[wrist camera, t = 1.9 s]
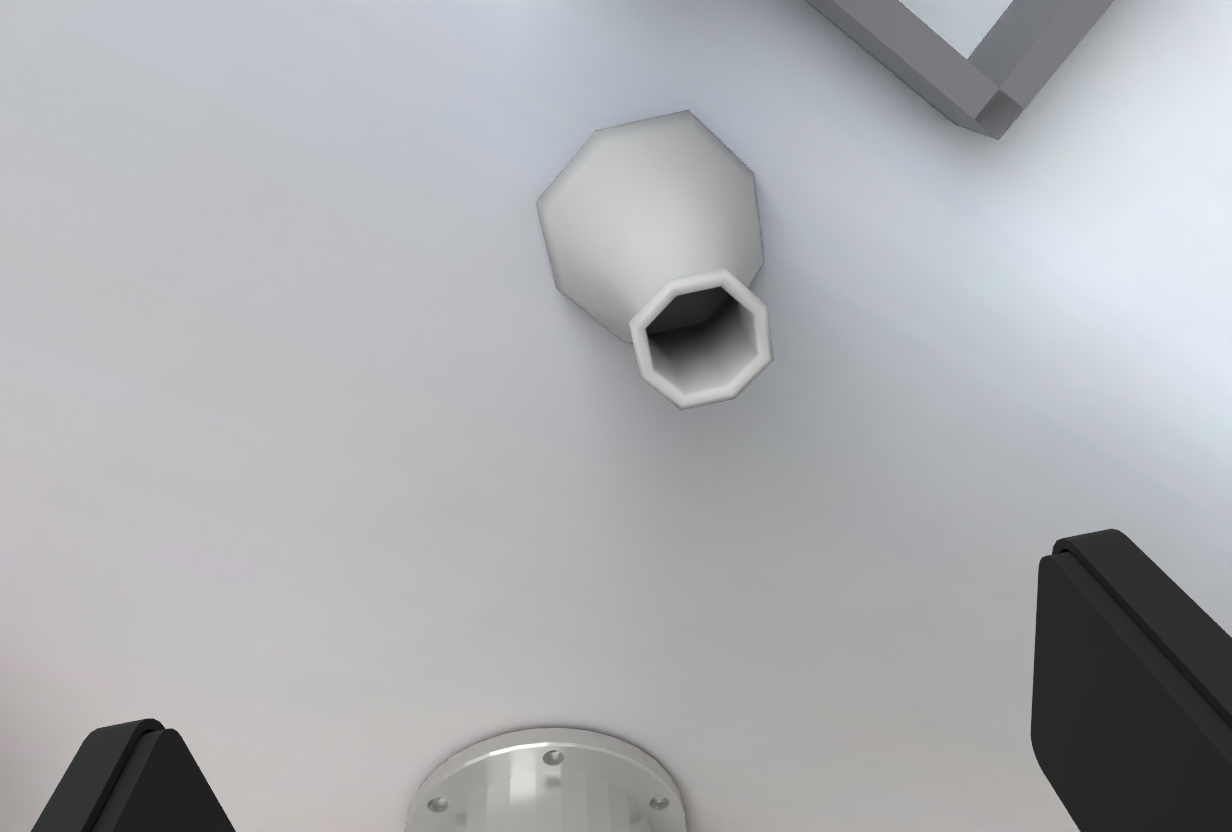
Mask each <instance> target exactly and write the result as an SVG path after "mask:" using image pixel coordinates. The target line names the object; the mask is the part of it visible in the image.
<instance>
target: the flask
mask: <svg viewBox="0 0 1232 832" xmlns="http://www.w3.org/2000/svg"><path fill="white" fill-rule="evenodd" d="M536 205H537V209H538V214H539V218H540V222H541V226H542V230H543V234H544V238H545V243H546V247H547V251H548V255H549V259H550V263H551V267H552V272H553V276H554V280H555V284H556V288H557V289H558V290H560V291H561V292H562V293H563V294H565V295H566V296H567V297H568V298H570V299H571V300H572V301H573V302H574V303H576V304H577V305H578V306H579V307H581V308H582V309H583V310H584V311H586V312H587V313H588V314H589V315H591V316H592V317H593V318H594V319H595V320H597V321H598V322H599V323H600V324H602V325H603V326H604V327H605V328H607V329H608V330H609V331H610V332H611V333H613V334H614V335H615V336H616V337H618V338H619V339H620V340H621V341H625V342H632V343H633V345H634V350H635V355H636V360H637V365H638V370H639V374H640V377H641V378H642V379H643V380H644V381H645V382H647V383H648V384H649V385H650V386H652V387H653V388H654V389H655V390H657V391H658V392H659V393H660V394H662V395H663V396H664V397H665V398H667V399H668V400H669V401H670V402H672V403H673V404H674V405H675V406H677V407H678V408H679V409H680V410H683V409H688V408H693V407H697V406H702V405H707V404H711V403H716V402H721V401H725V400H730V399H735V398H736V397H737V396H738V395H739V394H740V393H741V392H742V391H743V390H744V389H745V388H746V387H747V386H748V385H749V384H750V383H751V382H752V381H753V380H754V379H755V378H756V377H757V376H758V375H759V374H760V373H761V372H762V371H763V370H764V369H765V368H766V367H767V366H768V365H769V364H770V363H771V362H772V361H773V360H774V358H773V350H772V343H771V335H770V327H769V319H768V312H767V307H766V305H765V304H764V303H763V302H762V301H761V300H760V299H759V298H757V297H756V296H755V295H754V294H753V293H752V292H751V291H750V290H749V289H748V288H749V286H750V283H751V281H752V280H753V278H754V277H755V275H756V274H757V272H758V271H759V269H760V268H761V266H762V264H763V262H764V260H765V259H764V251H763V243H762V235H761V227H760V219H759V211H758V203H757V196H756V188H755V180H754V173H753V172H752V171H751V170H750V169H749V168H748V167H747V166H746V165H745V164H744V163H743V162H742V161H741V160H740V159H739V158H738V157H737V156H736V155H735V154H733V153H732V152H731V151H730V150H729V149H728V148H727V147H726V146H725V145H724V144H723V143H722V142H721V141H720V140H719V139H718V138H717V137H716V136H715V135H714V134H713V133H712V132H711V131H710V130H709V129H708V128H707V127H706V126H705V125H703V124H702V123H701V122H700V121H699V120H698V119H697V118H696V117H695V116H694V115H693V114H692V113H691V112H690V111H689V110H686V111H681V112H677V113H672V114H668V115H663V116H659V117H654V118H650V119H645V120H641V121H636V122H632V123H627V124H623V125H618V126H614V127H609V128H605V129H600V130H596V131H595V132H594V133H593V135H592V136H591V137H590V138H589V139H588V141H587V142H586V143H585V144H584V145H583V146H582V148H581V149H580V150H579V151H578V152H577V154H576V155H575V156H574V157H573V158H572V160H571V161H570V162H569V163H568V164H567V165H566V167H565V168H564V169H563V170H562V171H561V173H560V174H559V175H558V176H557V177H556V179H555V180H554V181H553V182H552V183H551V185H550V186H549V187H548V188H547V189H546V190H545V192H544V193H543V194H542V195H541V196H540V198H539V199H538V200H537V201H536Z"/></svg>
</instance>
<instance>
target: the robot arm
mask: <svg viewBox="0 0 1232 832" xmlns="http://www.w3.org/2000/svg"><path fill="white" fill-rule="evenodd" d="M1031 741H1032V746H1033V750H1034V753H1035V756H1036V758H1037V761H1038V763H1039V765H1040V767H1041V769H1042V771H1043V773H1044V774H1045V776H1046V777H1047V779H1048V781H1049V782H1050V784H1051V785H1052V787H1053V789H1054V790H1055V792H1056V793H1057V795H1058V797H1059V798H1060V800H1061V801H1062V803H1063V805H1064V806H1065V808H1066V809H1067V811H1068V813H1069V814H1070V816H1071V817H1072V819H1073V821H1074V822H1075V824H1076V825H1077V827H1078V829H1079V830H1080V832H1232V638H1231V637H1230V636H1229V635H1228V634H1227V633H1226V632H1225V631H1224V630H1223V629H1222V628H1221V627H1220V626H1219V625H1218V624H1217V623H1216V622H1215V621H1214V620H1213V619H1212V618H1211V617H1210V616H1209V615H1208V614H1206V613H1205V612H1204V611H1203V610H1202V609H1201V608H1200V607H1199V606H1198V605H1197V604H1196V603H1195V602H1194V601H1193V600H1192V599H1191V598H1190V597H1189V596H1188V595H1187V594H1186V593H1185V592H1184V591H1183V590H1182V589H1181V588H1180V587H1179V586H1178V585H1177V584H1176V583H1175V582H1173V581H1172V580H1171V579H1170V578H1169V577H1168V576H1167V575H1166V574H1165V573H1164V572H1163V571H1162V570H1161V569H1160V568H1159V567H1158V566H1157V565H1156V564H1155V563H1154V562H1153V561H1152V560H1151V559H1150V558H1149V557H1148V556H1147V555H1146V554H1145V553H1144V552H1143V551H1142V550H1140V549H1139V548H1138V547H1137V546H1136V545H1135V544H1134V543H1133V542H1132V541H1131V540H1130V539H1129V538H1128V537H1127V536H1126V535H1125V534H1123V533H1122V532H1120V531H1119V530H1115V529H1108V530H1103V531H1098V532H1093V533H1087V534H1082V535H1077V536H1072V537H1067V538H1062V539H1060V540H1057V541H1056V543H1055V545H1054V546H1053V552H1052V555H1049V556H1045V557H1042V559H1041V560H1040V563H1039V572H1038V593H1037V613H1036V634H1035V655H1034V676H1033V697H1032V718H1031ZM31 832H236V831H235V829H234V828H233V826H232V824H231V823H230V821H229V819H228V817H227V816H226V814H225V812H224V810H223V809H222V807H221V805H220V803H219V802H218V800H217V798H216V796H215V795H214V793H213V791H212V789H211V788H210V786H209V784H208V782H207V781H206V779H205V777H204V775H203V774H202V772H201V770H200V768H199V767H198V765H197V763H196V761H195V760H194V758H193V756H192V754H191V753H190V751H189V749H188V747H187V746H186V744H185V742H184V740H183V739H182V737H181V736H180V734H179V733H178V732H177V731H176V730H174V729H165V728H164V726H163V725H162V724H161V723H160V722H159V721H157V720H155V719H143V720H138V721H133V722H128V723H123V724H117V725H112V726H107V727H102V728H98V729H96V730H94V731H93V732H91V733H90V734H89V735H88V736H87V738H86V739H85V740H84V741H83V743H82V745H81V747H80V748H79V750H78V752H77V753H76V755H75V757H74V759H73V760H72V762H71V764H70V766H69V767H68V769H67V771H66V772H65V774H64V776H63V778H62V779H61V781H60V783H59V784H58V786H57V788H56V790H55V791H54V793H53V795H52V796H51V798H50V800H49V802H48V803H47V805H46V807H45V808H44V810H43V812H42V814H41V815H40V817H39V819H38V820H37V822H36V824H35V826H34V827H33V829H32V831H31ZM405 832H687V827H686V817H685V811H684V807H683V803H682V799H681V795H680V792H679V790H678V788H677V787H676V785H675V783H674V781H673V780H672V778H671V776H670V775H669V774H668V773H667V772H666V771H665V770H664V769H663V767H662V766H661V765H660V764H659V763H658V762H657V761H656V760H655V759H653V758H652V757H650V756H649V755H647V754H646V753H644V752H643V751H641V750H640V749H639V748H637V747H635V746H633V745H630V744H628V743H626V742H624V741H621V740H619V739H617V738H615V737H611V736H607V735H604V734H600V733H596V732H592V731H588V730H578V729H569V728H536V729H528V730H522V731H517V732H511V733H505V734H502V735H499V736H496V737H493V738H490V739H487V740H484V741H481V742H478V743H476V744H474V745H472V746H470V747H468V748H466V749H464V750H462V751H461V752H459V753H457V754H455V755H453V756H452V757H451V758H449V759H448V760H447V761H446V762H444V763H443V764H442V765H440V766H439V767H438V768H436V769H435V770H434V771H433V772H432V773H431V775H430V776H429V777H428V778H427V779H426V780H425V781H424V782H423V784H422V785H421V786H420V788H419V789H418V791H417V793H416V795H415V797H414V799H413V800H412V802H411V804H410V808H409V812H408V816H407V820H406V825H405Z"/></svg>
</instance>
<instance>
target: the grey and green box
mask: <svg viewBox="0 0 1232 832" xmlns="http://www.w3.org/2000/svg"><path fill="white" fill-rule="evenodd" d="M806 1H807V2H808V3H809V4H810V5H812V6H813V7H814V8H815V9H816V10H818V11H819V12H820V13H821V14H823V15H824V16H825V17H826V18H827V19H829V20H830V21H831V22H832V23H833V24H835V25H836V26H837V27H838V28H839V29H841V30H842V31H843V32H844V33H845V34H847V35H848V36H849V37H850V38H851V39H853V40H854V41H855V42H856V43H857V44H859V45H860V46H861V47H862V48H863V49H865V50H866V51H867V52H868V53H870V54H871V55H872V56H873V57H874V58H876V59H877V60H878V61H879V62H880V63H882V64H883V65H884V66H885V67H886V68H888V69H889V70H890V71H891V72H892V73H894V74H895V75H896V76H897V77H898V78H900V79H901V80H902V81H903V82H904V83H906V84H907V85H908V86H909V87H910V88H912V89H913V90H914V91H915V92H917V93H918V94H919V95H920V96H921V97H923V98H924V99H925V100H926V101H927V102H929V103H930V104H931V105H932V106H933V107H935V108H936V109H937V110H938V111H939V112H941V113H942V114H943V115H944V116H945V117H947V118H948V119H949V120H950V121H951V122H953V123H954V124H956V125H959V126H961V127H964V128H967V129H970V130H972V131H975V132H978V133H981V134H983V135H986V136H989V137H992V138H994V139H997V140H999V139H1000V138H1001V136H1002V135H1003V134H1004V133H1005V132H1006V130H1007V129H1008V128H1009V127H1010V126H1011V124H1012V123H1013V122H1014V121H1015V119H1016V118H1017V117H1018V116H1019V115H1020V113H1021V112H1022V111H1023V110H1024V109H1025V107H1026V106H1027V105H1028V104H1029V103H1030V101H1031V100H1032V99H1033V98H1034V96H1035V95H1036V94H1037V93H1038V92H1039V90H1040V89H1041V88H1042V87H1043V86H1044V84H1045V83H1046V82H1047V81H1048V79H1049V78H1050V77H1051V76H1052V75H1053V73H1054V72H1055V71H1056V70H1057V69H1058V67H1059V66H1060V65H1061V64H1062V62H1063V61H1064V60H1065V59H1066V58H1067V56H1068V55H1069V54H1070V53H1071V52H1072V50H1073V49H1074V48H1075V47H1076V46H1077V44H1078V43H1079V42H1080V41H1081V39H1082V38H1083V37H1084V36H1085V35H1086V33H1087V32H1088V31H1089V30H1090V29H1091V27H1092V26H1093V25H1094V24H1095V22H1096V21H1097V20H1098V19H1099V18H1100V16H1101V15H1102V14H1103V13H1104V12H1105V10H1106V9H1107V8H1108V7H1109V6H1110V4H1111V3H1112V2H1113V1H1114V0H1014V1H1013V2H1012V3H1011V5H1010V6H1009V7H1008V9H1007V10H1006V11H1005V12H1004V14H1003V15H1002V16H1001V17H1000V19H999V20H998V21H997V23H996V24H995V25H994V26H993V28H992V29H991V30H990V32H989V33H988V34H987V35H986V37H985V38H984V39H983V40H982V42H981V43H980V44H979V46H978V47H977V48H976V49H975V51H974V52H973V53H972V54H971V56H970V57H969V58H968V60H966V59H965V58H964V57H963V56H962V55H960V54H959V53H958V52H957V51H956V50H955V49H954V48H952V47H951V46H950V45H949V44H948V43H947V42H945V41H944V40H943V39H942V38H941V37H940V36H939V35H937V34H936V33H935V32H934V31H933V30H932V29H931V28H929V27H928V26H927V25H926V24H925V23H924V22H922V21H921V20H920V19H919V18H918V17H917V16H916V15H914V14H913V13H912V12H911V11H910V10H909V9H907V8H906V7H905V6H904V5H903V4H902V3H901V2H899V1H898V0H806Z"/></svg>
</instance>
